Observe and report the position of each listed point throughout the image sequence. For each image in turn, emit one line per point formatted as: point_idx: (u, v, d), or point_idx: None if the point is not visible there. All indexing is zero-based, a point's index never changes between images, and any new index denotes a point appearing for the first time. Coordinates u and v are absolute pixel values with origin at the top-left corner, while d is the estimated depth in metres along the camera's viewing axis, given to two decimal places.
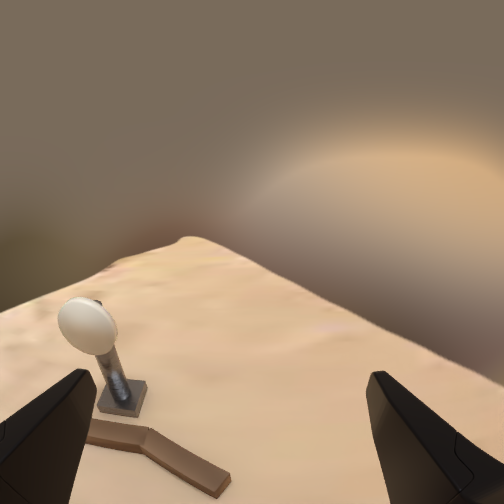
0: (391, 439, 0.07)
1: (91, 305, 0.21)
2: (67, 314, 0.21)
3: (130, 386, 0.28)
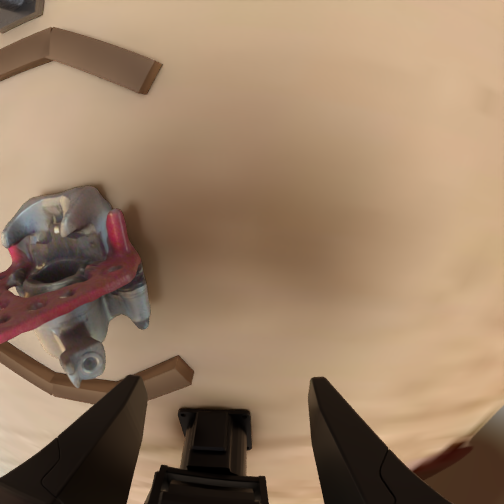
0: (323, 449, 0.07)
1: None
2: None
3: None
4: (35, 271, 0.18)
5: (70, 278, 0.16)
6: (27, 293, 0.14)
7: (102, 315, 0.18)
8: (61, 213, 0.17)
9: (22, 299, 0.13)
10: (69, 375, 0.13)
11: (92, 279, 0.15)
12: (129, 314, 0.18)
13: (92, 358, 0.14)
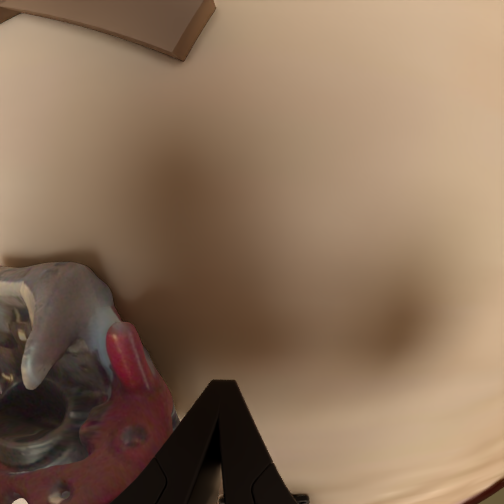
0: None
1: None
2: None
3: None
4: (2, 380, 0.10)
5: (56, 435, 0.08)
6: None
7: None
8: (26, 308, 0.09)
9: None
10: None
11: (97, 459, 0.07)
12: None
13: None
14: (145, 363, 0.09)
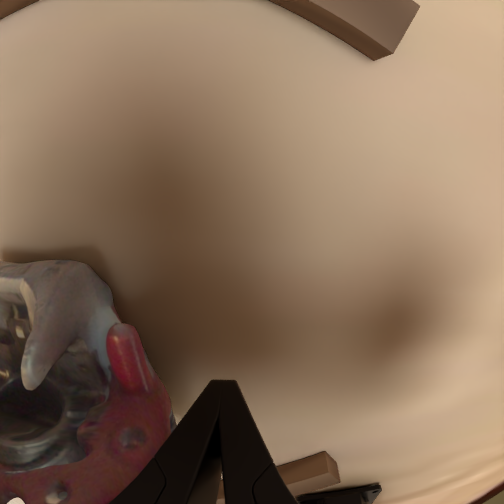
0: None
1: None
2: None
3: None
4: None
5: (53, 434, 0.07)
6: None
7: None
8: (25, 306, 0.09)
9: None
10: None
11: (95, 461, 0.07)
12: None
13: None
14: (145, 365, 0.09)
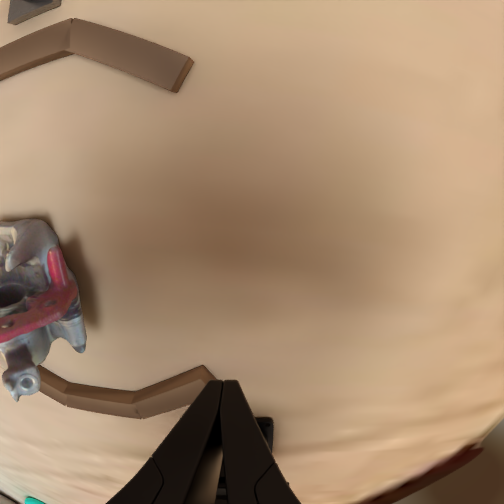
0: None
1: None
2: None
3: None
4: None
5: (15, 305, 0.16)
6: None
7: (44, 338, 0.18)
8: (13, 242, 0.17)
9: None
10: (9, 391, 0.13)
11: (30, 311, 0.15)
12: (67, 339, 0.19)
13: (29, 378, 0.14)
14: (64, 270, 0.17)
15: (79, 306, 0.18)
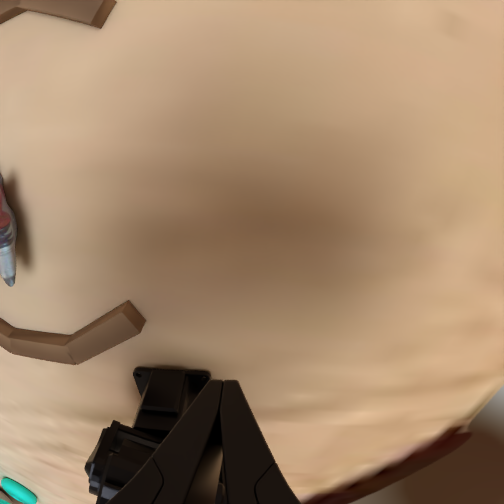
0: None
1: None
2: None
3: None
4: None
5: None
6: None
7: None
8: None
9: None
10: None
11: None
12: None
13: None
14: None
15: (9, 236, 0.17)
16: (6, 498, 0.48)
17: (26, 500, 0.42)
